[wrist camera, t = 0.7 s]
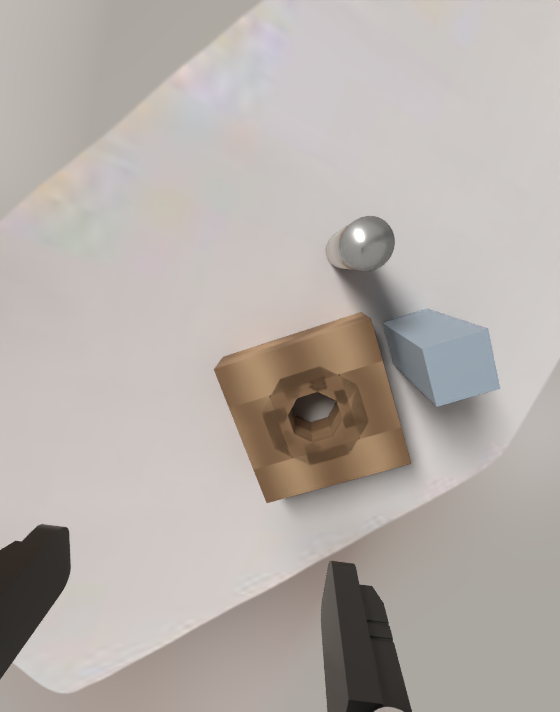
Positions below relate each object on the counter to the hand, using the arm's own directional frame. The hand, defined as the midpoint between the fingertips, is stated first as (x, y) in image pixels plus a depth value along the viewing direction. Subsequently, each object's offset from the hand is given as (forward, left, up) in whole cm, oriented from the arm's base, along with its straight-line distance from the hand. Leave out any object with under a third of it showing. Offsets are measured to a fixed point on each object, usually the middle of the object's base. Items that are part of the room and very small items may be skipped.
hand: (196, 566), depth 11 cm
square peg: (-14, +2, -23) cm, 27 cm away
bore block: (-4, +5, -23) cm, 24 cm away
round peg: (-10, -7, -23) cm, 26 cm away
